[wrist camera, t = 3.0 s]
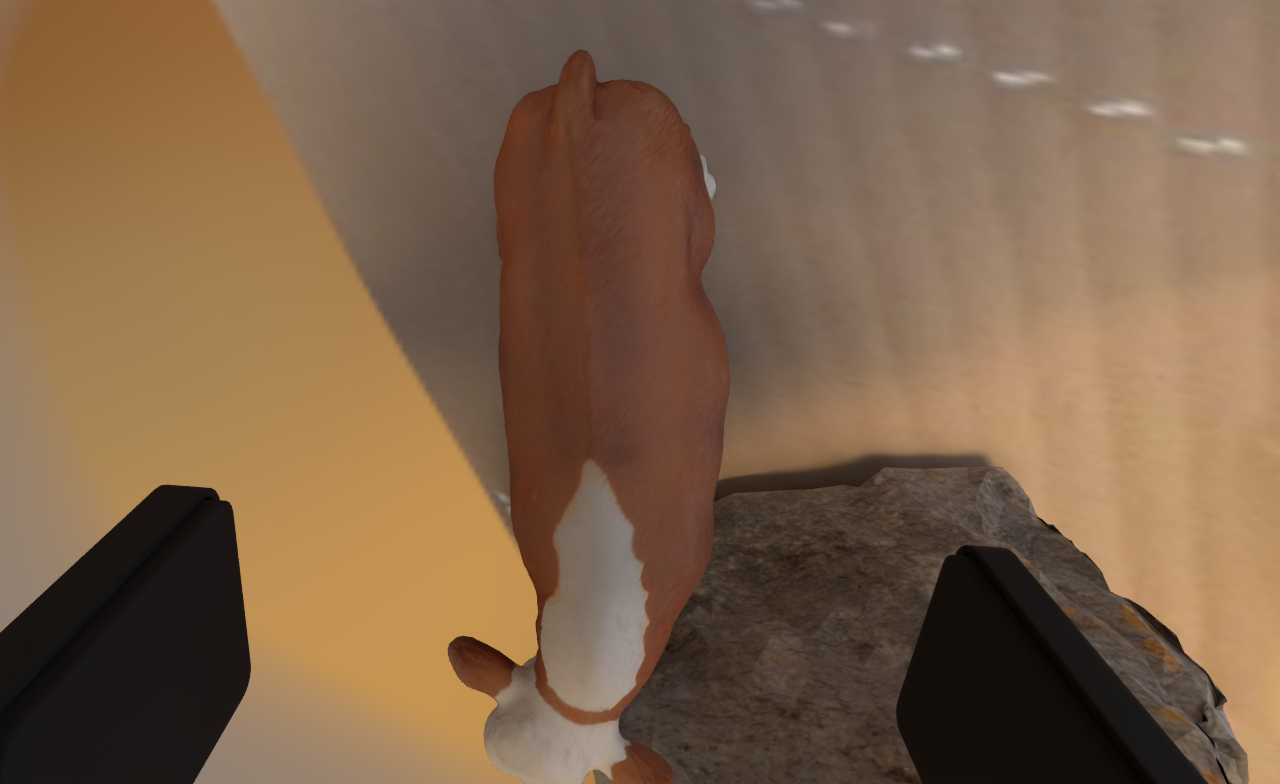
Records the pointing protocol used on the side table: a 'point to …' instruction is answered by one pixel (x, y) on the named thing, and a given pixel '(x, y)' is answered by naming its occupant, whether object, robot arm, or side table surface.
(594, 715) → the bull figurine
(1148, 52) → the side table surface
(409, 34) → the side table surface
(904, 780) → the stone
